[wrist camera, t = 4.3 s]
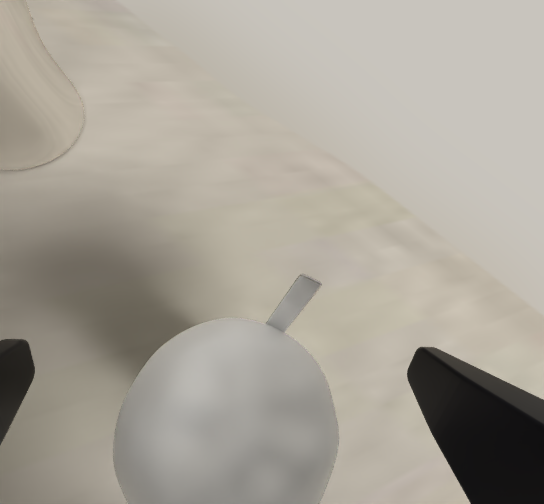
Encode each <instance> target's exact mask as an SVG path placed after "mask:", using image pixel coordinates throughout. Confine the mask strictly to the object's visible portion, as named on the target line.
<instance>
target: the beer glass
mask: <svg viewBox="0 0 544 504" xmlns="http://www.w3.org/2000/svg"><path fill="white" fill-rule="evenodd" d="M83 124H84V106H83V102H82V99H81V97H80V95H79V93H78V91H77V90H76V88H75V87H74V85H73V84H72V82H71V81H70V80H69V78H68V77H67V76H66V75H65V73H64V72H63V71H62V70H61V68H60V67H59V66H58V64H57V63H56V62H55V61H54V59H53V58H52V56H51V55H50V54H49V52H48V51H47V49H46V47H45V45H44V44H43V42H42V40H41V38H40V36H39V33H38V31H37V29H36V27H35V25H34V22H33V20H32V17H31V14H30V11H29V8H28V5H27V2H26V0H0V170H23V169H29V168H33V167H37V166H40V165H43V164H45V163H48V162H50V161H52V160H54V159H56V158H57V157H59V156H60V155H62V154H63V153H65V152H66V151H67V150H68V149H69V148H70V147H71V146H72V145H73V144H74V142H75V141H76V140H77V138H78V137H79V135H80V133H81V130H82V128H83Z"/></svg>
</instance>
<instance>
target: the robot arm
mask: <svg viewBox="0 0 544 504" xmlns="http://www.w3.org/2000/svg"><path fill="white" fill-rule="evenodd" d="M34 373H35V367H34V363H33V359H32V355H31V351H30V347H29V344H28V342H27V341H26V340H23V339H5V340H1V341H0V445H1V443H2V441H3V439H4V437H5V435H6V433H7V431H8V429H9V427H10V425H11V423H12V421H13V419H14V417H15V415H16V413H17V411H18V409H19V407H20V405H21V403H22V401H23V399H24V397H25V395H26V393H27V391H28V389H29V387H30V385H31V383H32V381H33V378H34ZM407 377H408V381H409V384H410V386H411V388H412V390H413V393H414V395H415V397H416V399H417V402H418V404H419V406H420V409H421V411H422V413H423V415H424V418H425V420H426V422H427V424H428V426H429V429H430V431H431V433H432V435H433V437H434V438H435V440H436V442H437V444H438V446H439V448H440V449H441V451H442V453H443V455H444V457H445V458H446V460H447V462H448V464H449V465H450V467H451V469H452V471H453V473H454V474H455V476H456V478H457V480H458V482H459V483H460V485H461V487H462V489H463V490H464V492H465V494H466V496H467V498H468V499H469V501H470V503H471V504H544V400H543V399H541V398H539V397H536V396H534V395H532V394H530V393H528V392H526V391H524V390H522V389H520V388H518V387H516V386H514V385H512V384H510V383H507V382H505V381H503V380H501V379H499V378H497V377H495V376H493V375H491V374H489V373H487V372H485V371H483V370H480V369H478V368H476V367H474V366H472V365H470V364H468V363H466V362H464V361H462V360H460V359H458V358H456V357H454V356H451V355H449V354H447V353H445V352H443V351H441V350H439V349H437V348H434V347H420V348H418V349H417V350H416V352H415V354H414V356H413V359H412V361H411V363H410V365H409V368H408V371H407Z"/></svg>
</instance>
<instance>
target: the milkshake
mask: <svg viewBox="0 0 544 504" xmlns="http://www.w3.org/2000/svg"><path fill="white" fill-rule="evenodd" d="M321 286H322V283H321V282H320V281H318V280H316V279H314V278H311V277H309V276H307V275H305V274H300V275H299V276H298V278H297V279H296V280H295V282H294V283H293V285H292V286H291V288H290V289H289V291H288V292H287V293H286V295H285V296H284V298H283V299H282V301H281V302H280V304H279V305H278V306H277V308H276V309H275V311H274V312H273V314H272V315H271V317H270V318H269V319H268V321H267V322H266V323H262V322H259V321H255V320H251V319H245V318H221V319H215V320H211V321H207V322H204V323H201V324H198V325H196V326H193V327H191V328H189V329H187V330H185V331H183V332H181V333H179V334H178V335H176V336H175V337H173V338H172V339H170V340H169V341H167V342H166V343H165V344H164V345H162V346H161V347H160V348H159V349H158V350H157V351H156V352H155V353H154V354H153V355H152V356H151V357H150V359H149V360H148V361H147V362H146V364H145V365H144V366H143V368H142V369H141V371H140V372H139V374H138V375H137V377H136V378H135V380H134V382H133V383H132V385H131V387H130V389H129V391H128V393H127V395H126V397H125V399H124V401H123V404H122V406H121V409H120V412H119V416H118V420H117V424H116V429H115V435H114V444H113V461H114V468H115V472H116V476H117V479H118V482H119V484H120V487H121V489H122V491H123V494H124V496H125V498H126V500H127V503H128V504H319V503H320V501H321V498H322V496H323V494H324V491H325V489H326V486H327V484H328V481H329V478H330V475H331V472H332V470H333V467H334V463H335V460H336V456H337V452H338V445H339V431H338V422H337V417H336V412H335V408H334V404H333V400H332V396H331V392H330V389H329V386H328V383H327V380H326V377H325V375H324V373H323V371H322V369H321V367H320V366H319V364H318V363H317V361H316V360H315V359H314V357H313V356H312V355H311V354H310V353H309V351H308V350H307V349H306V348H305V347H303V346H302V345H301V344H300V343H299V342H298V341H296V340H295V339H294V338H292V337H291V336H289V335H288V334H286V333H285V331H286V329H287V328H288V327H289V326H290V325H291V323H292V322H293V321H294V320H295V318H296V317H297V316H298V315H299V313H300V312H301V311H302V310H303V308H304V307H305V306H306V305H307V304H308V302H309V301H310V300H311V299H312V297H313V296H314V295H315V294H316V292H317V291H318V290H319V289H320V287H321Z"/></svg>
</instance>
